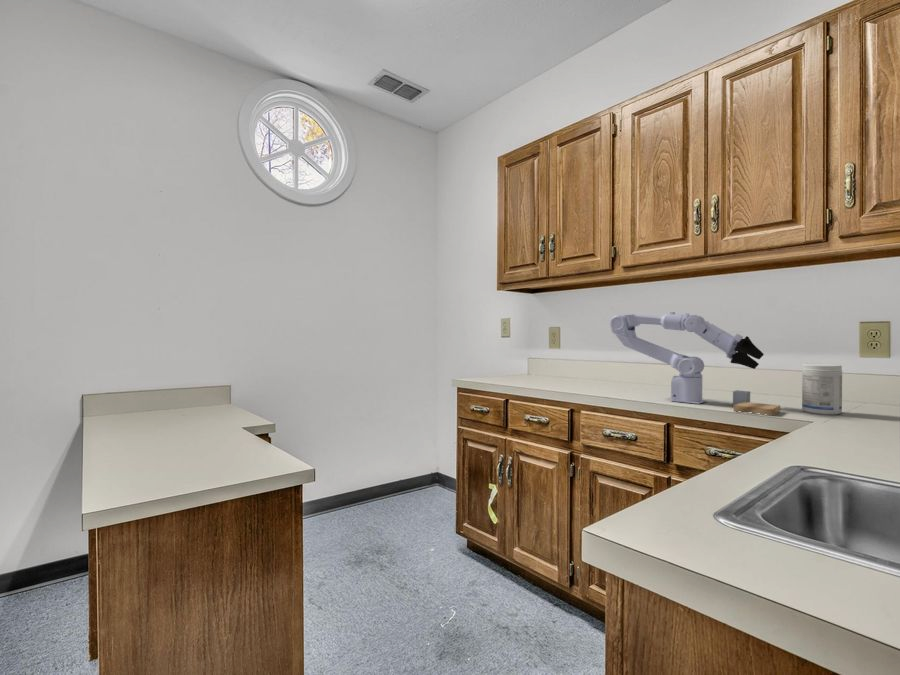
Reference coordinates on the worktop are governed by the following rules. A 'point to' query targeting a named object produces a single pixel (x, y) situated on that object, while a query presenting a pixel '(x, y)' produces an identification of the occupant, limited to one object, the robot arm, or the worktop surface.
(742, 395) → the block
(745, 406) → the slab
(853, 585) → the worktop surface
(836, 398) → the supplement tub
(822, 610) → the worktop surface
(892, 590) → the worktop surface
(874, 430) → the worktop surface
